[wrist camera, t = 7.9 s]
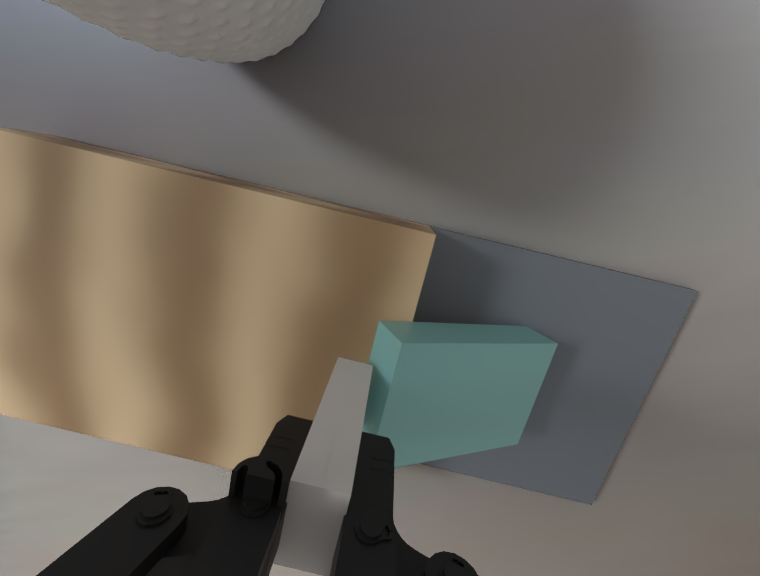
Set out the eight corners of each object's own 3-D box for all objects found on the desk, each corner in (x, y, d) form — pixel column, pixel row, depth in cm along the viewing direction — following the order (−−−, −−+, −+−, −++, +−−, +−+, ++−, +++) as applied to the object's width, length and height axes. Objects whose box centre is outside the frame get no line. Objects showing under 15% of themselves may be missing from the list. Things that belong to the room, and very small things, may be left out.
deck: (57, 372, 22) (-16, 410, 18) (52, 135, 18) (-41, 120, 14) (370, 447, 22) (363, 500, 18) (429, 225, 18) (436, 235, 14)
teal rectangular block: (349, 439, 16) (366, 473, 15) (379, 320, 15) (401, 343, 13) (491, 419, 21) (517, 444, 19) (526, 326, 19) (558, 343, 17)
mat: (370, 447, 22) (369, 451, 22) (429, 225, 18) (429, 226, 18) (588, 499, 22) (591, 504, 22) (691, 289, 18) (697, 291, 18)
